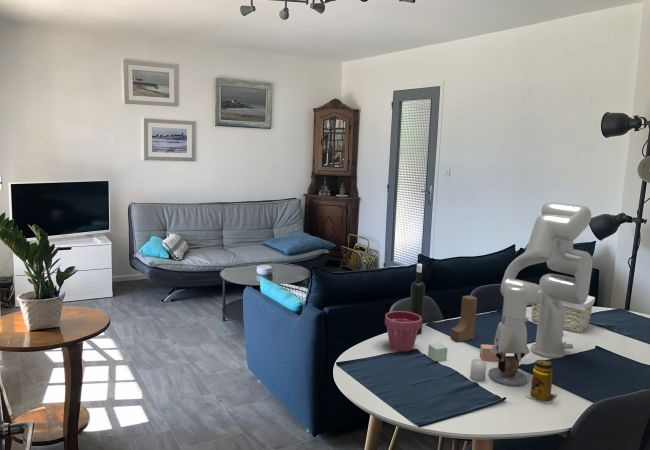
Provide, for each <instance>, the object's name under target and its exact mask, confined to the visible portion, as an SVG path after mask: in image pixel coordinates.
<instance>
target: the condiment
mask: <svg viewBox="0 0 650 450" xmlns="http://www.w3.org/2000/svg"><path fill="white" fill-rule="evenodd" d="M553 377H554V372H553V363H552V362H551V361H548V360H545V359H537V360H535V362H534V368H533V370H532V378H531V385H530V386H531V387H530V392H529V393H528V394H527V395H526V396H525V397H526V398H529V399H532V400H535V401H538V402H540V403H544V404H547V405H549V404H551V403H552V402H553V401H554V399H555V398H556V397H557V395H558V394H556V393H552V388H553V387H552V385H553Z"/></svg>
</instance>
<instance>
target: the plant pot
mask: <svg viewBox="0 0 650 450" xmlns="http://www.w3.org/2000/svg"><path fill="white" fill-rule="evenodd" d="M421 319H422V318H421V316H419V315H417V314H415V313H411V312H409V311H403V310H394V311H390V312H387V313H385V316H384V325H385V327H386V330H387V337H388V341H389V347H390V348H391V349H392V350H394V351H398V352H411V351H413V350H414V349H413V348H414V346H415V343H416V339H417V333H418V329H420V328H421Z"/></svg>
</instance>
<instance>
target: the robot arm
mask: <svg viewBox="0 0 650 450" xmlns="http://www.w3.org/2000/svg"><path fill="white" fill-rule="evenodd" d="M540 211H541V215H539V216H538V217H537V218H536V220H535V222H534V225H533V227H532V231H531V233H530V237H529V240H528V243H527V245H526V249H525V251H524V252H523V253H521V254H520V255H519V256H517V257H516V258H514V259H513V260H512V261H511V262H510V263H509V265H508V266H507V268H506V270H505V271H504V274H503V275H504V276H503V278H502V281H501V284H500V294H501V296H502V297H503V303H502V312H501V313H502V316H501V321H499V323H498V325H497V327H496V332H495V336H494V341H493V345H494V346H493V347H492V348H491V350H490V352H491V353H493V354H494V355H496V356H497V358H498V363H497V367H498V368H499V370H500V371H501V372H502V373H504V372H505V361H504V359H505V356H507V354H513V356H515V358H516V360H517V362H518V364H519V365H518V368H517V371H519V367H520V362H521V361H522V359H524V358H525V356H527V355H528V354H530V352H531V351H532V352H533V353H534V354H535V355H538V356H541V357H545V358H548V359H549V358H550V359H560V358H563V357H565V355H566V351H565V350H566V349H569V350H571V349H574V344H573V343H567V342H566V341H563V337H564V330H565V329H564V321H565V308H564V305H563V303H562V301H565V302H569V303H573V304H583V303H585V301H586V300H587V297H588V296H589V292H590V284H591V278H592V271H593V257H592V255H591V254H590V253H589V252H588V251H584V250H580V249H574V240H576V239H577V238H578V237H579V236H580V235H581V234H582V233H583V232H584V231H585V230H586V229H587V227H589V224H590V222H591V220H592V212H591V211H592V210H591V209H590V208H589V207H588V206H584V205H580V204H572V203H571V204H570V203H563V202H546V203H544V204H543V205H542V207H541V210H540ZM541 263H546V266H547V268H548V269H550V270H551V271H554V272H559V273H564V274H569V275H573V276H574V277H570V276H567V275H561V274H555V273H547V274H543V275H542V276H541V277H540V279H539V284H537V283H533V282H530V281H526V280H521V279H517V278H516V277H517V276H518V273H519V272H520V271H521V270H523V269H525V268H527V267H530V266H532V265H537V264H541ZM538 303H540V307H539V316H538V322H537V327H536V335H535V343H533V344H531V345H530V349H529V348H528V331H527V325H526V322H529V318H528V317H526V315H527V306H532V305H536V304H538ZM497 349H499V353H498V352H496V350H497ZM530 350H531V351H530ZM517 371H516V373H517Z"/></svg>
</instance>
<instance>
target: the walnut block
mask: <svg viewBox="0 0 650 450" xmlns="http://www.w3.org/2000/svg"><path fill="white" fill-rule="evenodd" d="M504 361H505V372H504V373H502V372H501V373H502V375H503V377H514V376H515V373H516V371H517V368H518V365H519V366H520V363H519V364H518V362H517V360H516V358H515V356H514V355H506V356H505V359H504ZM518 369H519V368H518Z"/></svg>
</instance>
